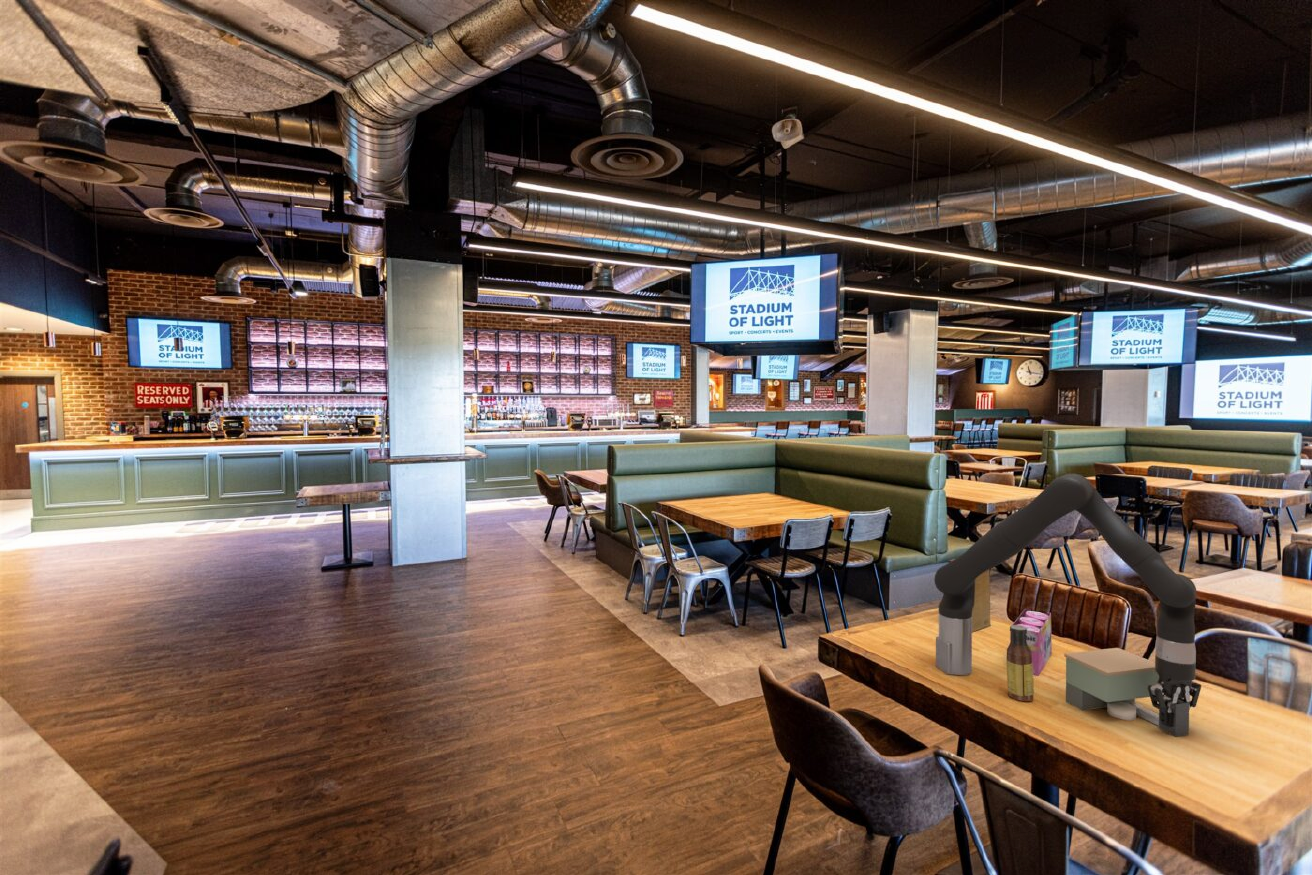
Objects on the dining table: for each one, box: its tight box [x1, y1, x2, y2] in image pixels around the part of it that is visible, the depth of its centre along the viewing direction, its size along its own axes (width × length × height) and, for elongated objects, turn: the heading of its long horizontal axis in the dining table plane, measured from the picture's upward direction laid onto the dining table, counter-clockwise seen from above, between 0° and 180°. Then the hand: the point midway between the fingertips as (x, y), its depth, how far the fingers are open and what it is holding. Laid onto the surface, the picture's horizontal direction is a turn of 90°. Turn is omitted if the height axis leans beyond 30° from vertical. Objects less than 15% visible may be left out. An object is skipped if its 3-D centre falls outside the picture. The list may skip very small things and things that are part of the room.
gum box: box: [1009, 608, 1053, 676], centre depth 190 cm, size 24×8×14 cm, turn 138°
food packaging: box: [947, 558, 991, 633], centre depth 222 cm, size 13×9×25 cm
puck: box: [1106, 701, 1137, 721], centre depth 156 cm, size 6×6×2 cm
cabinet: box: [1063, 647, 1159, 711], centre depth 159 cm, size 18×13×13 cm
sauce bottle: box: [1006, 624, 1035, 702], centre depth 166 cm, size 7×6×20 cm
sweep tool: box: [1122, 696, 1190, 737], centre depth 152 cm, size 4×15×8 cm, turn 11°
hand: (1173, 724), depth 147 cm, fingers closed on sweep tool, 4 cm apart
